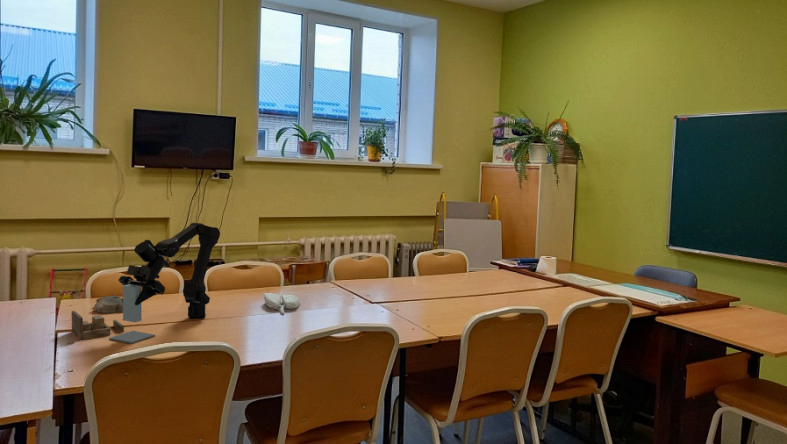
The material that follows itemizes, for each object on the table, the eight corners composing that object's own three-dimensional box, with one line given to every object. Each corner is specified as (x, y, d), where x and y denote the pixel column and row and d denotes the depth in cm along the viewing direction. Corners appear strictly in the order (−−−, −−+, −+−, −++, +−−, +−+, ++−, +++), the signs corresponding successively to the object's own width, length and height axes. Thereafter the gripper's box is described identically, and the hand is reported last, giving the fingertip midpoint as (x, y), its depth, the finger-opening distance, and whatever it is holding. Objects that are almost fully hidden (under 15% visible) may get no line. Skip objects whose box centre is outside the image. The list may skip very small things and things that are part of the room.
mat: (133, 332, 222) (133, 330, 222) (155, 336, 218) (155, 334, 218) (109, 339, 212) (109, 337, 212) (131, 344, 208) (131, 342, 208)
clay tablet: (93, 304, 262) (94, 314, 245) (94, 293, 262) (94, 303, 245) (127, 302, 269) (130, 312, 251) (128, 292, 269) (130, 301, 251)
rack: (115, 325, 230) (114, 305, 229) (124, 332, 221) (124, 312, 220) (71, 331, 220) (71, 311, 219) (80, 339, 211) (79, 318, 210)
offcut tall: (100, 330, 223) (100, 314, 223) (104, 333, 220) (104, 317, 219) (92, 331, 221) (92, 316, 221) (95, 334, 218) (95, 319, 217)
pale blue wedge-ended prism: (129, 318, 217) (129, 284, 216) (141, 320, 215) (141, 286, 213) (123, 320, 214) (122, 285, 213) (135, 322, 212) (134, 287, 211)
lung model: (299, 301, 282) (302, 319, 258) (263, 302, 278) (263, 321, 254) (299, 288, 280) (302, 305, 256) (263, 289, 277) (262, 306, 253)
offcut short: (87, 332, 220) (86, 320, 220) (90, 335, 216) (90, 323, 216) (78, 333, 218) (78, 321, 218) (81, 336, 214) (81, 325, 214)
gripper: (122, 254, 219) (97, 288, 210) (159, 259, 212) (135, 294, 203) (138, 271, 227) (115, 305, 218) (175, 276, 220) (152, 311, 211)
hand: (129, 303), depth 213 cm, fingers closed on pale blue wedge-ended prism, 6 cm apart
